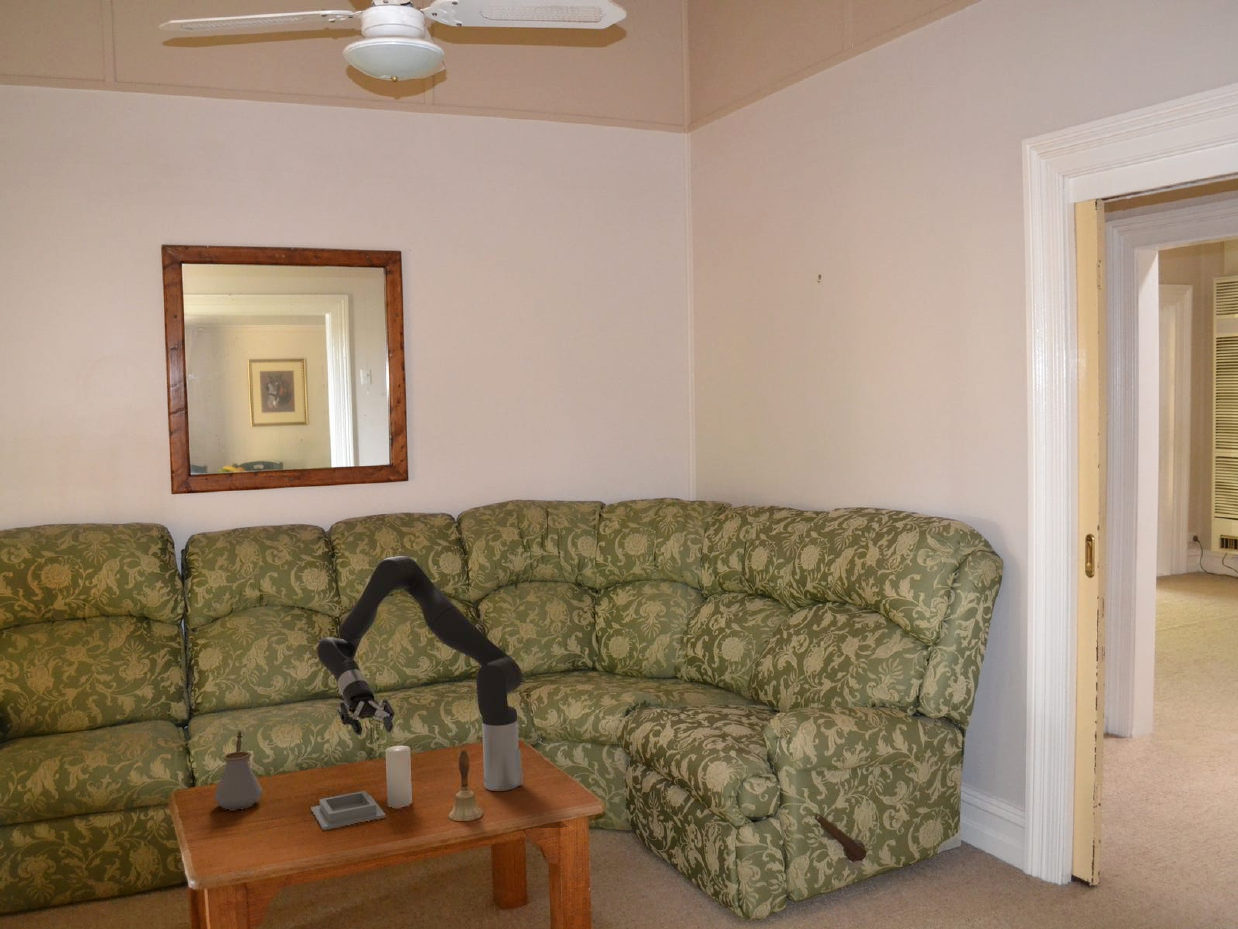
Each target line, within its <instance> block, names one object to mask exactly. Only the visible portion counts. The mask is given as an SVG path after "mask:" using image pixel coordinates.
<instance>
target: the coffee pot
mask: <svg viewBox="0 0 1238 929" xmlns="http://www.w3.org/2000/svg"><path fill="white" fill-rule="evenodd" d="M242 733H243V734H244V735H242ZM245 735H246V734H245V732H243V731H241V730H239V731H238V732H235V736H236V739H237V740H236V751H234V752H230V753H226V754H225V755H224V756H223V760H224V761H225V763H226V765H225V768H224V770H223V773H222V775H221V778H220V781H219V783H218V786H217V789H216V790H215V791H216V792H215V794H214V800H215V803H216V804H217V805H219V806H220V807H222V808H223V809H224V808H226V809H229V810H228V811H238V810H237V809H241V810H243V809H242V808H245V809H248V808H251V807H252V806H251V805H253V804H254V803H255V804H256V802H257V801H258V800H259V799H260V798H261V796H262V793H263V789H262V787H261V785H260V782H259V781H258V779H257V777H256V775H255V774H254V771H253V770H252V768H251V766H250V764H249V762H248V761H249V760H250V757H251V756H252V753H251V752H248V751H242V738H243V737H244V736H245ZM255 804H254V805H255ZM254 805H253V806H254ZM250 806H251V807H250ZM226 809H225V810H226Z"/></svg>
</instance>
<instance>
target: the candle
mask: <svg viewBox="0 0 1238 929" xmlns="http://www.w3.org/2000/svg"><path fill="white" fill-rule="evenodd" d="M411 766H412V765H411V748H410V746H407V745H394V746H390V747H388V748H386V749H385V771H386V774H385V775H386V797H387V807H388V806H389V808H390V807H392V808H391V809H402V808H401V807H405V806H408V805H409V804H411V803H412V804H413V795H412V770H411V769H412V768H411ZM412 804H411V805H412ZM408 807H409V806H408ZM405 808H406V807H405Z"/></svg>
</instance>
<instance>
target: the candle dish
mask: <svg viewBox="0 0 1238 929" xmlns="http://www.w3.org/2000/svg"><path fill="white" fill-rule="evenodd" d="M318 801H319V805H315V806H314V805H313V806H311V807H310V810H311V812H313V813H312V815H313V816H314V815H315V816H314V818H315V819H316V821H317V822H319V823H318V824H319V825H320V827H321V829H322V831H327V829H328V830H333V829H337V828H342V826H343V827H346V826H345V825H348V826H352V825H351V824H353V823H357V822H361V821H368V822H371V821H370V820H373V819H377V818H383V819H386V818H387V816H386V813H385V812H384V810H382V808H381V806H380V805H379V804H378V802H376V800H375V799H374V798H373V797H372V796H371V795H369V794H368V792H367V791H366V790H362V791H357V792H351V793H345V794H341V795H336V796H331V797H325V798H319V799H318ZM385 817H386V818H385ZM373 821H374V820H373ZM353 825H354V824H353ZM332 828H333V829H332Z"/></svg>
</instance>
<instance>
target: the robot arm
mask: <svg viewBox="0 0 1238 929" xmlns="http://www.w3.org/2000/svg"><path fill="white" fill-rule="evenodd" d="M400 590H403V591H405V592H406V593H408V594H409V595H410V597H412V598H413V599H414V600H415V601H416V602H417V603H418V605H419V606H420V610H421V613H422V615H423V619H424V622H425V624H426V626H427V628H428V629H429V630H430V631H431V632H432V633H433V634H434V635H435V636H436V637H437V639H439V641H440V642H441V643H443V644H444V645H445V646H447V647H449V648H450V649H453V650H454V651H456V652H458V653H461V654H463V655H465V656H467V657H469V658H471V659H473V660H474V661H476V662H477V663H478V664H479V665H480V667H479V668H478V671H477V674H476V682H475V683H476V694H477V706H478V711H479V714H480V716H481V728H482V729H481V730H482V734H481V735H482V757H483V763H482V764H483V787H484V788H485V789H486V790H488V791H494V792H503V791H504V792H505V791H510V790H514V789H516V788H517V787H520V786H522V785H523V768H522V767H523V766H522V750H521V748H519V734H518V733H519V730H518V711H517V709H516V708H515V707H514V706H511V705H509V702H508V701H509V700H508V694H509V693H511V692H513V691H515V690H516V689H518V688H519V687H520V686H521V684H522V683H523V682H522V681H523V673H522V669H521V668H520V666H519V665H518V663H517V661H516V660H514V658H512V657H511V656H510V655H509V654H507V653H506V652H505V651H503V650H502V648H500V647H498V646H497V645H496V644H495V643H493V642H492V640H490V639H489V638H488V636H486V635H485V634H484V633H483V632H482V631H481V630H480V629H479V628H478V627H477V626H476V625H474V624H473V622H472V621H471V620H470V619H469V618H468V617H467V616H466V615H465V614H464V613H463V611H461V610H460V609H459V608H458V607H457V606H456V605H455V604H454V603H453V602H451V600H450V599H448V597H447V596H446V594H444V593H443V592H442V591H441V590H440V589H439V588H438V587H437V586H436V585H435V584H434V582H432V580H431V579H430V578H429V576H428V575H427V574H426V572H425V571H424V570H423V569H422V568H421V566H420V565H419V564H418V563H417V562H416V560H415V559H413V558H411V557H410V556H406V555H399V556H398V555H397V556H391V557H386V558H385V559H382V560H381V561H380V562H378V564H377V565H376V568H375V569H374V571H373V573H372V574H371V577H370V579H369V581H368V582H367V584H366V586H365V588H364V590H363V592H362V594H361V596H360V597H359V599H358V601H357V603H356V604H355V605H354V606H353V608H352V610H351V611H350V612H349V614H348V615H347V616H346V617H345V619H344V620H343V622H342V623H340V625H339V628H338V635H339V636H340V637H341V638H336V637H331V636H328V637H324V638H322V639H321V640H320V641H319V642H318V645H317V650H316V652H317V656H318V659H319V661H320V662H321V664H322V665H323V666H324V667H325V668H326V669H327V670H328V671H329V672H330V673H331V674H332V675H333V677H334V679H335V681H336V683H337V685H338V689H339V692H340V694H341V696H342V698H343V700H344V702H340V704H339V705H338V706H339V707H338V709H337V712H338V715H339V717H340V720H341V723H342V724H343V725H344V726H346V725H349V726H351V728H352V729H353V732H354V733H355V734H356V735H357V736H361V735H362V733H363V727H362V725H361V723H360V720H359V718H361V719H367V718H369V719H371V718H372V719H374V720H376V721H380V722H382V723H383V724H382V725H383V726H384V728H385V730H386V732H387V733H392V730H393V728H394V724H393V722H392V721H393V719H394V717H395V714H396V712H395V710H394V709H393V707H392V705H391V704H390V703H389V700H388V699H383V701H381V702H378V701H377V700H376V699H375V694H374V692H373V689H371V685H370V684H369V682H368V680H367V678H366V677H365V676H364V674H363V672H362V670H361V669H360V667H359V665H358V663H357V661H355V657H356V655H357V651H358V649H359V646H360V643H361V641H362V639H363V637H364V636H365V635H366V633H367V632H369V630H370V628H371V627H372V625H373V624H374V623H375V620H376V618H377V614H378V610H379V606H380V604H381V603H382V601H383V600H385V598H386V597H387V596H389V594H390V593H392V592H394V591H395V592H396V591H400ZM348 711H349V712H348ZM349 713H352V714H353V715H352V716H350V714H349ZM376 713H377V714H376Z"/></svg>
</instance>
